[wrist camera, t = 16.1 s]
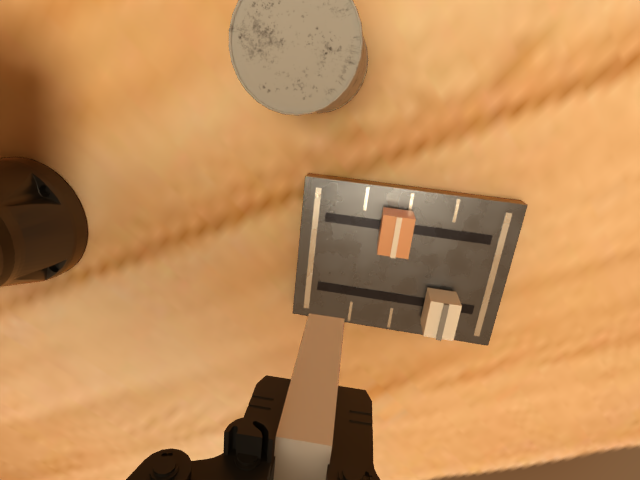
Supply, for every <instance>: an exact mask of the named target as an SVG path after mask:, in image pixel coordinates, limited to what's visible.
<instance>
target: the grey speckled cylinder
mask: <svg viewBox="0 0 640 480" xmlns="http://www.w3.org/2000/svg"><path fill="white" fill-rule="evenodd" d="M229 51H230V56H231V62H232V65H233V67H234V70H235V72H236V75H237V77H238V79H239V81H240V82H241V84H242V85H243V87H244V88H245V90H246V91H247V92H248V93H249V94H250V95H251V96H252V97H253V98H254V99H255V100H256V101H257V102H258V103H260V104H262V105H263V106H265V107H266V108H268V109H270V110H273V111H276V112H278V113H281V114H288V115H303V114H311V113H314V112H315V113H323V112H331V111H333V110H336V109H338V108H341V107H342V106H344V105H345V104H346V103H348V102H349V101H350V100H351V99H352V98H353V97H354V96H355V95H356V94H357V92H358V91H359V89H360V87H361V86H362V84H363V81H364V79H365V76H366V73H367V65H368V54H367V46H366V43H365V40H364V37H363V34H362V25H361V21H360V18H359V14H358V11H357V8H356V6H355V4H354V2H353V0H239V1H238V3H237V5H236V7H235V10H234V12H233V14H232V19H231V24H230V28H229Z"/></svg>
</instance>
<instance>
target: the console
mask: <svg viewBox="0 0 640 480" xmlns="http://www.w3.org/2000/svg"><path fill="white" fill-rule="evenodd" d="M383 207H387V208H394V209H402V210H409V211H413V212H414V215H415V219H416V221H415V226H414V231H413V237H412V242H411V247H410V253H409V258H408V259H403V258H396V257H395V258H390V257H389V256H383V255H377V243H378V236H379V230H380V224H381V218H382V211H383ZM526 209H527V204H525V203H524V202H522V201H521V200H513V199H506V198H498V197H490V196H482V195H475V194H467V193H459V192H451V191H444V190H436V189H428V188H420V187H412V186H405V185H397V184H389V183H381V182H374V181H366V180H358V179H350V178H343V177H335V176H327V175H319V174H312V173H308V174H307V175H306V176H305V186H304V197H303V208H302V219H301V229H300V240H299V251H298V262H297V273H296V284H295V295H294V305H293V313H294V314H300V315H306V316H308V315H309V314H316V315H323V316H330V317H337V318H343V319H345V320H344V322H348V323H354V324H360V325H366V326H373V327H379V328H385V329H391V330H397V331H403V332H409V333H415V334H421V335H423V332H422V326H421V321H420V320H421V315H422V311H423V306H424V301H425V296H426V292H427V287H428V288H434V289H441V290H447V291H454V292H456V293H457V295H458V298H459V300H460V302H461V305H462V308H461V312H460V316H459V320H458V324H457V328H456V332H455V336H454V340H457V341H463V342H469V343H475V344H481V345H488V344H489V341H490V337H491V333H492V330H493V326H494V323H495V319H496V316H497V312H498V308H499V305H500V301H501V298H502V294H503V291H504V287H505V284H506V280H507V276H508V273H509V269H510V266H511V262H512V259H513V255H514V251H515V248H516V244H517V241H518V237H519V234H520V230H521V227H522V223H523V219H524V216H525V212H526Z"/></svg>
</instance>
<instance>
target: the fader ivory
mask: <svg viewBox="0 0 640 480" xmlns="http://www.w3.org/2000/svg"><path fill="white" fill-rule="evenodd" d="M461 308H462V305H461V302H460V300H459V298H458V295H457V293H456V292H454V291H447V290H441V289H434V288H428V287H427V292H426V296H425V301H424V306H423V311H422V315H421V320H420V321H421V326H422V332H423V336H426V337H432V338H436V340H441V339H444V340H450V341H453V340H454V336H455V332H456V328H457V324H458V320H459V316H460V312H461Z"/></svg>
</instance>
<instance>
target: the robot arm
mask: <svg viewBox="0 0 640 480" xmlns="http://www.w3.org/2000/svg"><path fill="white" fill-rule="evenodd" d="M86 242H87V223H86V218H85V214H84V211H83V209H82V206H81V204H80V202H79V200H78V198H77V196H76V195H75V193H74V192H73V190H72V189H71V188H70V186H69V185H68V184H67V183H66V182H65V181H64V180H63V179H62V178H61V177H60V176H59V175H58V174H57V173H56V172H54V171H53V170H52V169H50V168H49V167H47V166H45V165H43V164H41V163H39V162H37V161H34V160H31V159H27V158H22V157H8V158H1V159H0V287H1V286H9V285H17V284H25V283H32V282H40V281H45V280H48V279H51V278H54V277H56V276H58V275H60V274H61V273H63V272H65V271H67V270H69V269H70V268H72V267H73V266H74V265H75V264H76V263H77V262H78V261H79V259H80V258H81V256H82V254H83V252H84V250H85V247H86ZM344 320H345V319H343V318H337V317H330V316H323V315H316V314H309V315H308V318H307V322H306V326H305V330H304V333H303V337H302V341H301V344H300V348H299V352H298V356H297V359H296V363H295V367H294V370H293V374H292V378H291V379H285V378H279V377H273V376H265V377H264V378H263V379H262V380H261V381H259V382H258V383H257V384H256V387H255V389H254V392H253V395H252V397H251V400H250V402H249V406H248V408H247V410H246V413H245V415H244V418H240V419H237V420H235V421H234V422H232V423H231V424H229V425H228V427H227V428H226V430H225V431H224V453H223V454H221V455H219V456H217V457H214V458H210V459H205V460H197V461H191V460H190V458H189V456H188V455H187V454H186V453H184V452H183V451H181V450H177V449H165V450H161V451H158V452H156V453H153V454H152V455H150V456H149V457H148V458H147V459H145V460H144V461H143V462H142V463H141V464H140V465H139V466H138V467H137V469H136V470H135V471H134V472H133V473H132V474H131V475H130V476H129V477H128V478H127V479H126V480H380V478H379V477H378V476H377V474H376V472H375V469H374V464H373V430H372V401H371V399H370V397H369V395H368V394H367V392H366V390H360V389H354V388H348V387H342V386H338V381H339V371H340V361H341V351H342V340H343V330H344Z"/></svg>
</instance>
